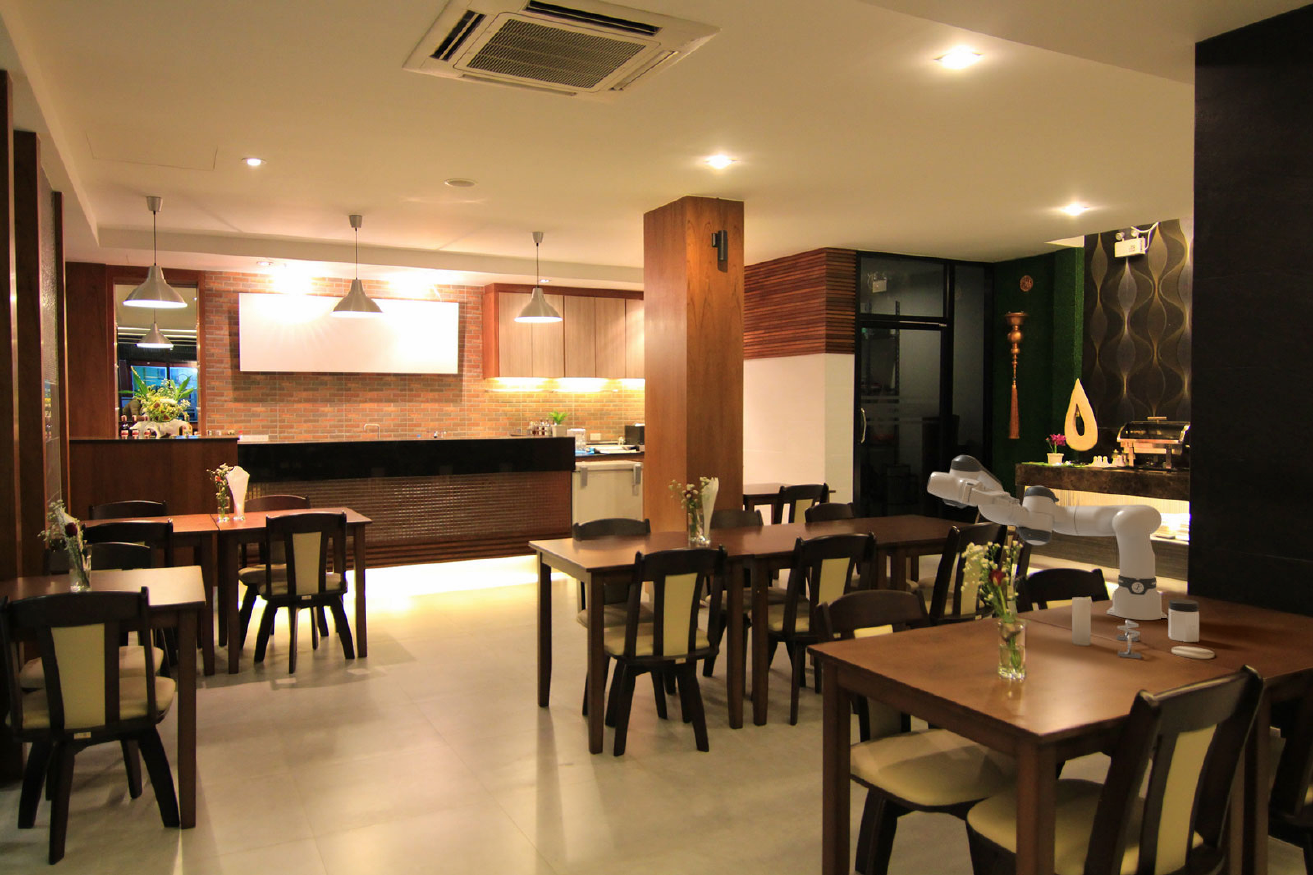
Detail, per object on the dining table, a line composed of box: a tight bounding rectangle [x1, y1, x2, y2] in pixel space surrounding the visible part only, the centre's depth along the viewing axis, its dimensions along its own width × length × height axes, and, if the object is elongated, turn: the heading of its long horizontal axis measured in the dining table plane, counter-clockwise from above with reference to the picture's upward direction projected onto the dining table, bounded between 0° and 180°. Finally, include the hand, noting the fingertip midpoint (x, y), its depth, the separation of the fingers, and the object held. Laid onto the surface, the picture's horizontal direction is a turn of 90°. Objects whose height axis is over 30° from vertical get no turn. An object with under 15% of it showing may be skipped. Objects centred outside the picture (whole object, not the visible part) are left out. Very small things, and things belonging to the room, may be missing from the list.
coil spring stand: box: [1116, 618, 1142, 660], centre depth 276 cm, size 25×6×6 cm, turn 154°
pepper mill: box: [1071, 596, 1092, 647], centre depth 282 cm, size 5×5×14 cm
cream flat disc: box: [1170, 645, 1215, 660], centre depth 269 cm, size 11×11×1 cm
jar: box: [1167, 598, 1200, 643], centre depth 286 cm, size 9×8×12 cm
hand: (1013, 503), depth 299 cm, fingers open, 8 cm apart
